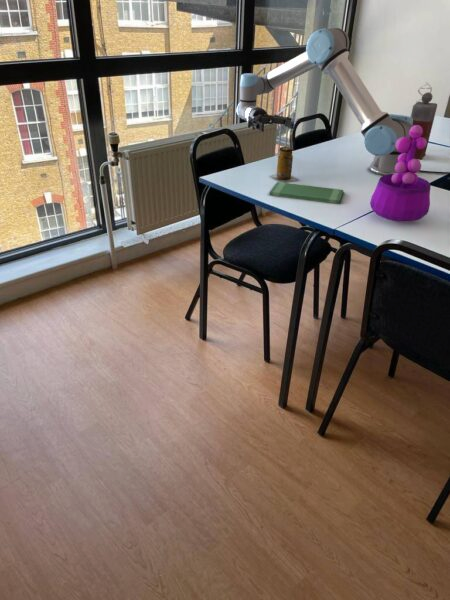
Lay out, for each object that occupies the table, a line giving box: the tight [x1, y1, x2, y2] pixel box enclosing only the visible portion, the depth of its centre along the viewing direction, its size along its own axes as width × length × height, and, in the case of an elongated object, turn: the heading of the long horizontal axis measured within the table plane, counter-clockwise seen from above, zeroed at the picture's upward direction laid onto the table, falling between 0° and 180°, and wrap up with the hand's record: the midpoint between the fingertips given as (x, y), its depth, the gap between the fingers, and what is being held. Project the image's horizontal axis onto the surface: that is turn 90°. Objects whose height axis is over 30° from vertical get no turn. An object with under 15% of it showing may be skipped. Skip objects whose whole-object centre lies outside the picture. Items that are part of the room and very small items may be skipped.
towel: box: [269, 181, 344, 205], centre depth 174 cm, size 26×12×1 cm, turn 71°
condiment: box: [272, 146, 298, 183], centre depth 186 cm, size 7×8×12 cm
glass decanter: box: [406, 91, 438, 161], centre depth 212 cm, size 9×11×28 cm
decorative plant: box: [369, 125, 431, 223], centre depth 148 cm, size 19×18×30 cm
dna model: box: [414, 81, 433, 104], centre depth 224 cm, size 7×6×30 cm
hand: (278, 126), depth 186 cm, fingers open, 13 cm apart
